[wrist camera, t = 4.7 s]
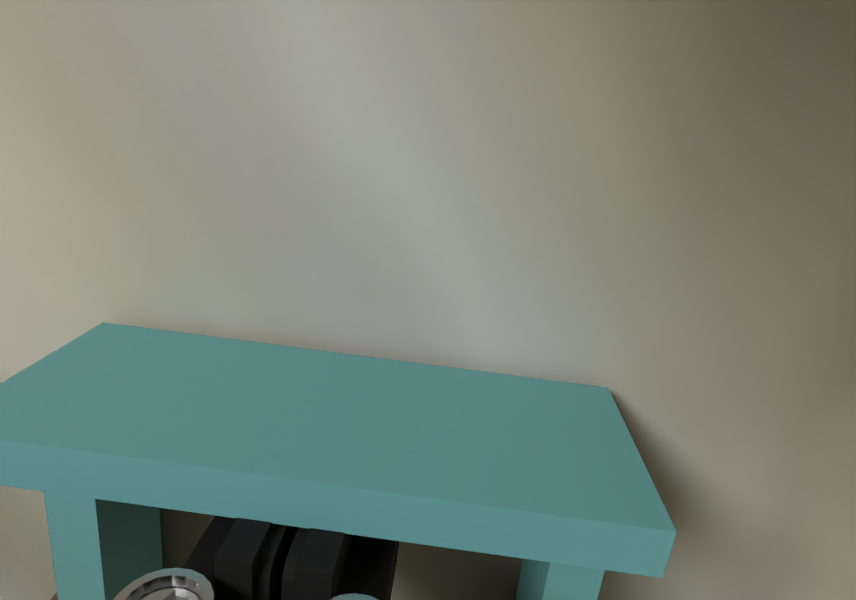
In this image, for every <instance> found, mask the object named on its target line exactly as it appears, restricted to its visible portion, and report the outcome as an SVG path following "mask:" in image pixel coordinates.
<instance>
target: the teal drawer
mask: <svg viewBox="0 0 856 600" xmlns="http://www.w3.org/2000/svg"><path fill="white" fill-rule="evenodd" d="M0 485H1V486H8V487H15V488H23V489H30V490H37V491H44V498H45V505H46V513H47V520H48V527H49V535H50V542H51V550H52V557H53V565H54V572H55V579H56V587H57V594H58V600H113V599H114V598H115V597H116V596H117V594H118V593H119V592H121V591H122V590H123V589H124V588H125V587H126V586H128V585H129V584H130V583H131V582H133V581H134V580H136V579H138V578H140V577H142V576H144V575H146V574H148V573H151V572H154V571H158V570H161V569H163V561H162V543H161V525H160V508H166V509H173V510H180V511H187V512H194V513H201V514H208V515H216V516H223V517H230V518H237V517H238V518H245V519H252V520H259V521H266V522H271V523H273V524H280V525H287V526H294V527H301V528H308V529H310V528H315V529H322V530H329V531H336V532H343V533H345V534H351V535H358V536H366V537H373V538H380V539H387V540H394V541H401V542H408V543H416V544H423V545H430V546H437V547H444V548H451V549H458V550H466V551H473V552H480V553H487V554H494V555H501V556H508V557H516V558H523V562H522V567H521V572H520V577H519V582H518V587H517V592H516V597H515V600H597V599H598V595H599V591H600V587H601V584H602V580H603V576H604V572H605V570H608V571H616V572H623V573H630V574H637V575H644V576H651V577H658V578H663V575H664V572H665V569H666V566H667V562H668V559H669V556H670V553H671V549H672V546H673V543H674V540H675V536H676V533H677V531H676V529H675V527H674V525H673V523H672V521H671V519H670V517H669V515H668V512H667V510H666V508H665V506H664V504H663V502H662V500H661V498H660V496H659V494H658V491H657V489H656V487H655V485H654V483H653V481H652V479H651V477H650V475H649V473H648V470H647V468H646V466H645V464H644V462H643V460H642V458H641V456H640V454H639V452H638V449H637V447H636V445H635V443H634V441H633V439H632V437H631V435H630V433H629V431H628V428H627V426H626V424H625V422H624V420H623V418H622V416H621V414H620V412H619V410H618V407H617V405H616V403H615V401H614V399H613V397H612V395H611V393H610V391H609V389H608V388H606V387H598V386H590V385H583V384H575V383H567V382H559V381H552V380H544V379H536V378H528V377H521V376H513V375H505V374H497V373H490V372H482V371H474V370H467V369H459V368H451V367H443V366H436V365H428V364H420V363H412V362H405V361H397V360H389V359H381V358H374V357H366V356H358V355H351V354H343V353H335V352H327V351H320V350H312V349H304V348H296V347H289V346H281V345H273V344H265V343H258V342H250V341H242V340H234V339H227V338H219V337H211V336H204V335H196V334H188V333H180V332H173V331H165V330H157V329H149V328H142V327H134V326H126V325H118V324H111V323H101V324H100V325H98V326H96V327H95V328H93V329H91V330H90V331H88V332H86V333H85V334H83V335H81V336H80V337H78V338H76V339H75V340H73V341H71V342H69V343H68V344H66V345H64V346H63V347H61V348H59V349H58V350H56V351H54V352H53V353H51V354H49V355H48V356H46V357H44V358H43V359H41V360H39V361H37V362H36V363H34V364H32V365H31V366H29V367H27V368H26V369H24V370H22V371H21V372H19V373H17V374H16V375H14V376H12V377H11V378H9V379H7V380H6V381H4V382H2V383H0Z"/></svg>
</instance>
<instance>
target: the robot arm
mask: <svg viewBox="0 0 856 600" xmlns="http://www.w3.org/2000/svg"><path fill="white" fill-rule="evenodd" d="M398 547H399V541H394V540H387V539H380V538H373V537H366V536H358V535H351V534H345V533H343V532H336V531H329V530H322V529H315V528H310V529H308V528H301V527H294V526H287V525H280V524H273V523H271V522H266V521H259V520H252V519H245V518H238V517H237V518H230V517H223V516H216V515H215V517H214V519H213V520H212V522H211V523H210V525H209V527H208V528H207V530H206V531H205V533H204V535H203V536H202V538H201V539H200V541H199V543H198V544H197V546H196V547H195V549H194V551H193V552H192V554H191V555H190V557H189V559H188V560H187V562H186V563H185V565H184V567H183V568H168V569H161V570H158V571H154V572H151V573H148V574H146V575H144V576H142V577H140V578H138V579H136V580H134V581H133V582H131V583H130V584H129V585H128V586H126V587H125V588H124V589H123V590H122V591H121V592H119V593H118V594H117V596H116V597H115V598H114V599H113V600H390V598H391V592H392V586H393V580H394V574H395V567H396V561H397V554H398Z"/></svg>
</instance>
